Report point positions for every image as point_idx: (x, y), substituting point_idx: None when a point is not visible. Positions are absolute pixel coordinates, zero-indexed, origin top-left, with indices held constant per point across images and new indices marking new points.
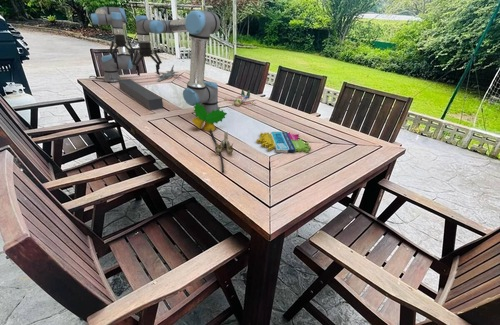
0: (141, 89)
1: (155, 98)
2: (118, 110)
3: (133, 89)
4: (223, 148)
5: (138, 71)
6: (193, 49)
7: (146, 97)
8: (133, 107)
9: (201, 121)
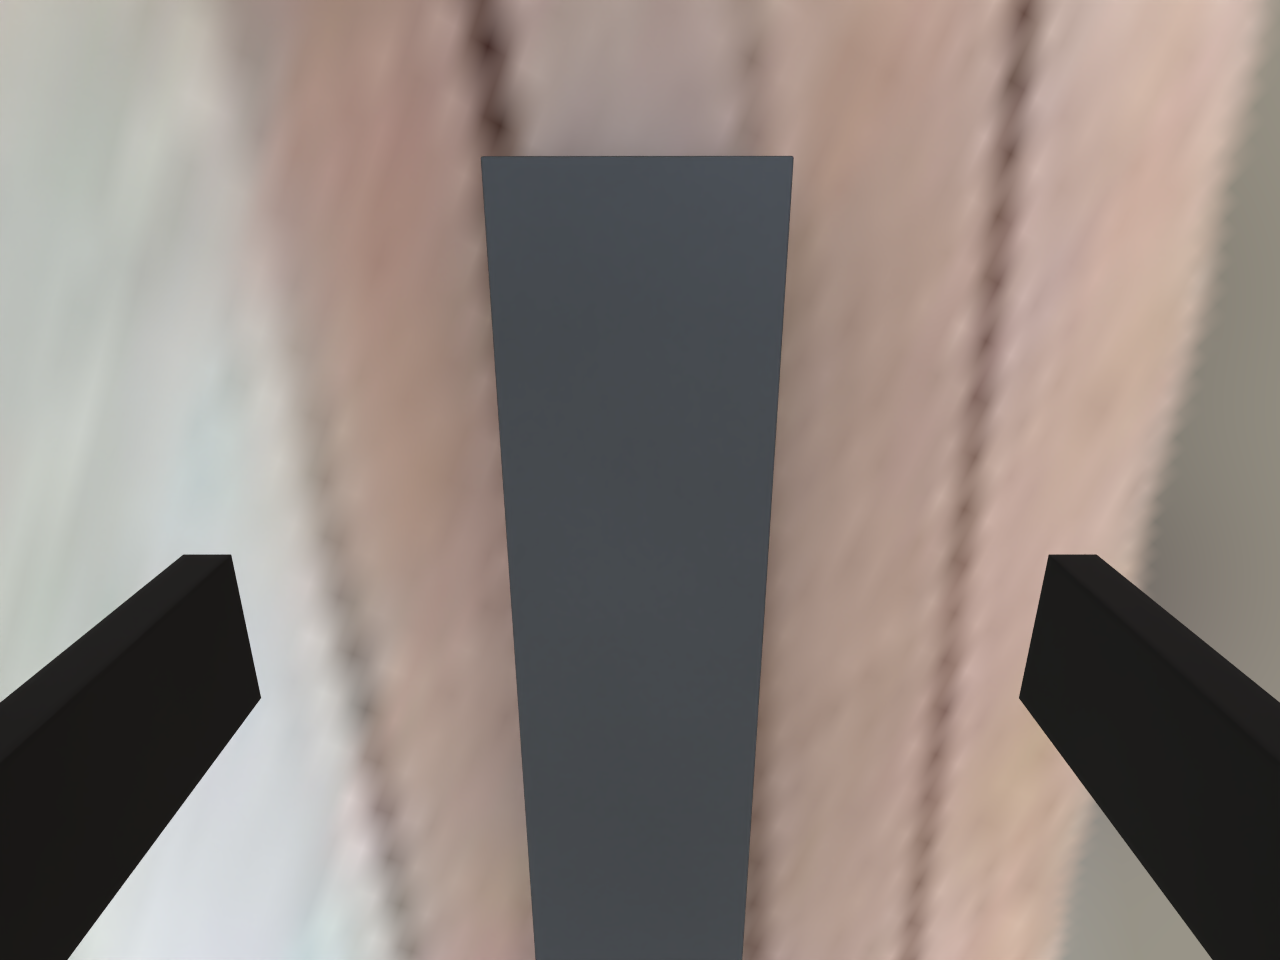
0: (619, 873)
1: (618, 205)
2: (1161, 393)
3: (735, 913)
4: None
5: (1217, 658)
6: None
7: (751, 365)
8: (913, 433)
9: None
